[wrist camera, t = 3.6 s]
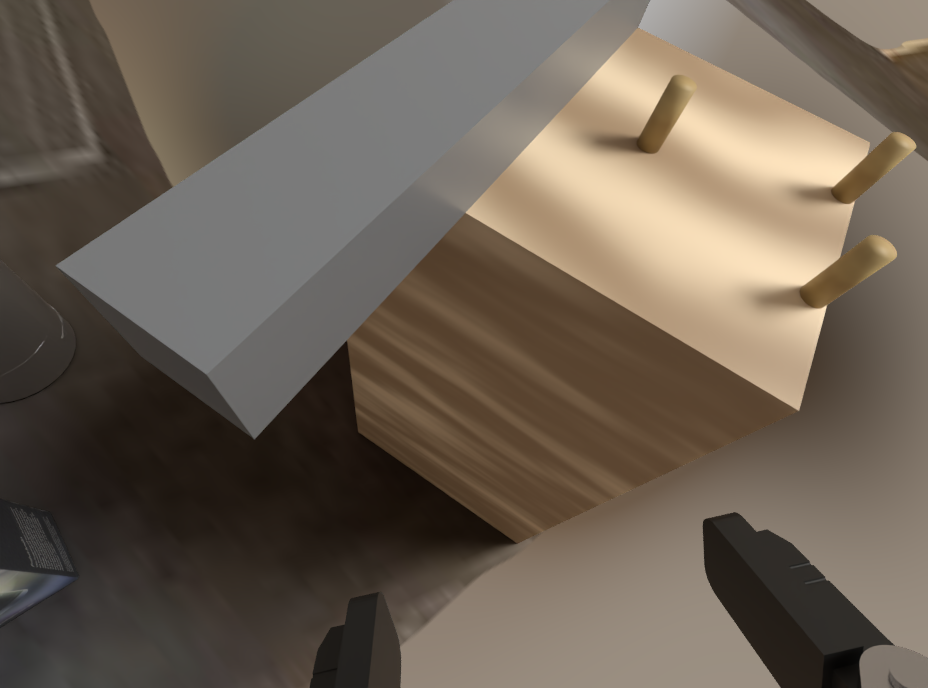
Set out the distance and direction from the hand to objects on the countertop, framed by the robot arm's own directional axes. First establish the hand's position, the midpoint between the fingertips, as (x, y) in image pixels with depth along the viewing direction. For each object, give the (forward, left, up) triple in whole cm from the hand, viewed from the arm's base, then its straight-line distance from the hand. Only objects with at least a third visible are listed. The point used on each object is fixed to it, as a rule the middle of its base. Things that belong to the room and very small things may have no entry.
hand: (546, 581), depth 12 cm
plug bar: (+7, +12, +1) cm, 14 cm away
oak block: (+13, +10, -31) cm, 34 cm away
